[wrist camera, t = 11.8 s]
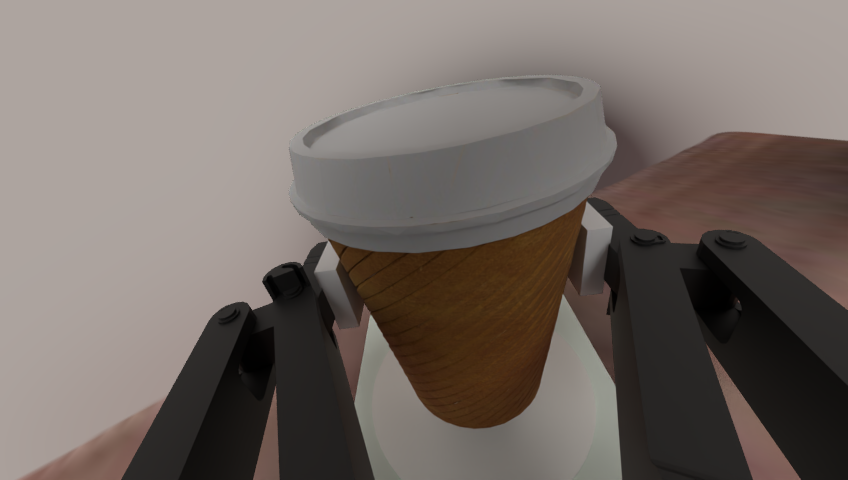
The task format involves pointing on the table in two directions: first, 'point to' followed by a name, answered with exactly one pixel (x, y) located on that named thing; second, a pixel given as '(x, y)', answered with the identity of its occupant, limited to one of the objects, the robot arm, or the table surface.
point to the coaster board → (504, 444)
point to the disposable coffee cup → (460, 226)
